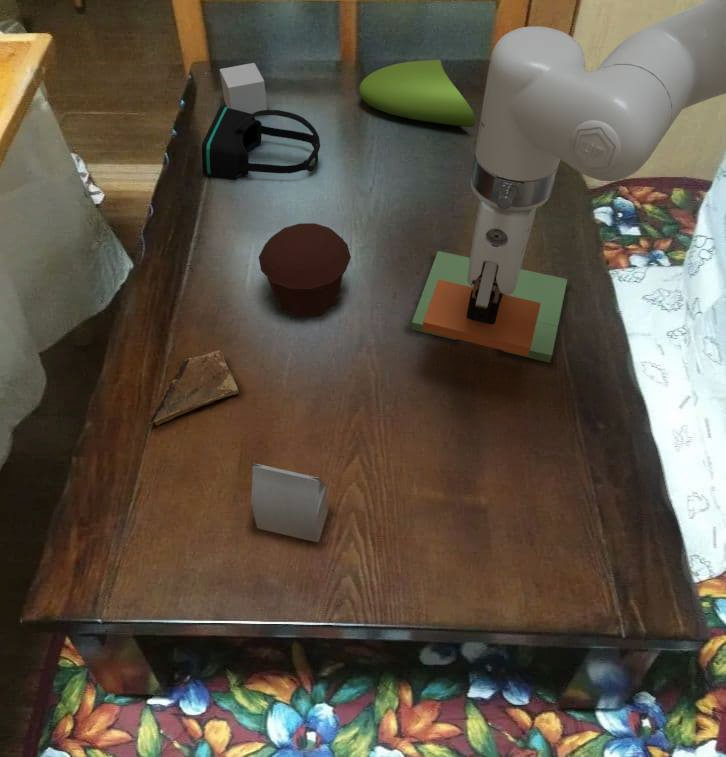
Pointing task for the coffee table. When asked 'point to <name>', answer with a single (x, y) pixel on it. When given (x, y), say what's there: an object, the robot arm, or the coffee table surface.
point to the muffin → (305, 268)
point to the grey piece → (288, 502)
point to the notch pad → (527, 287)
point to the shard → (196, 386)
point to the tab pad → (505, 334)
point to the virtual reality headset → (249, 143)
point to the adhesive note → (243, 88)
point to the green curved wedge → (417, 93)
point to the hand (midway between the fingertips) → (484, 308)
